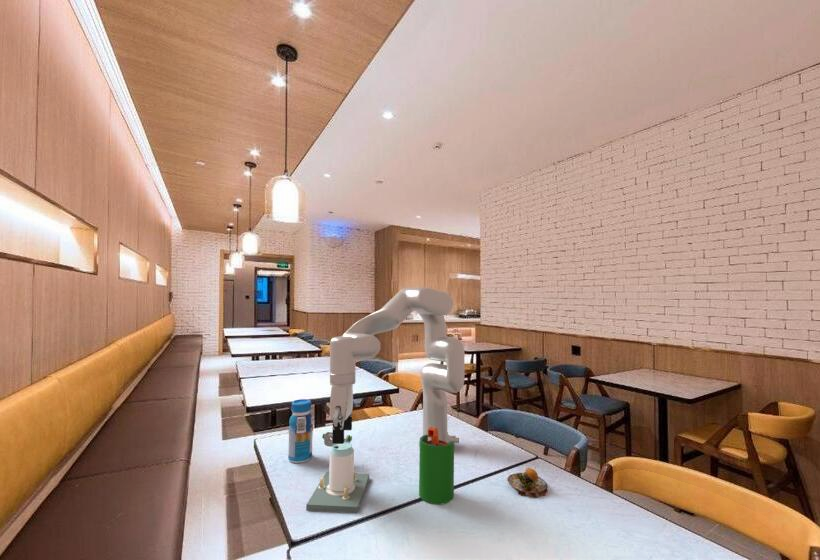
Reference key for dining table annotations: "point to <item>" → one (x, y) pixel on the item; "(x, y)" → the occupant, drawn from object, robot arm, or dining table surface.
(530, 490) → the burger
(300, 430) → the beverage bottle
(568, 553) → the dining table surface
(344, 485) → the can
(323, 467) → the dining table surface
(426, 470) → the motor
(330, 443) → the mechanical component
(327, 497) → the pin board
